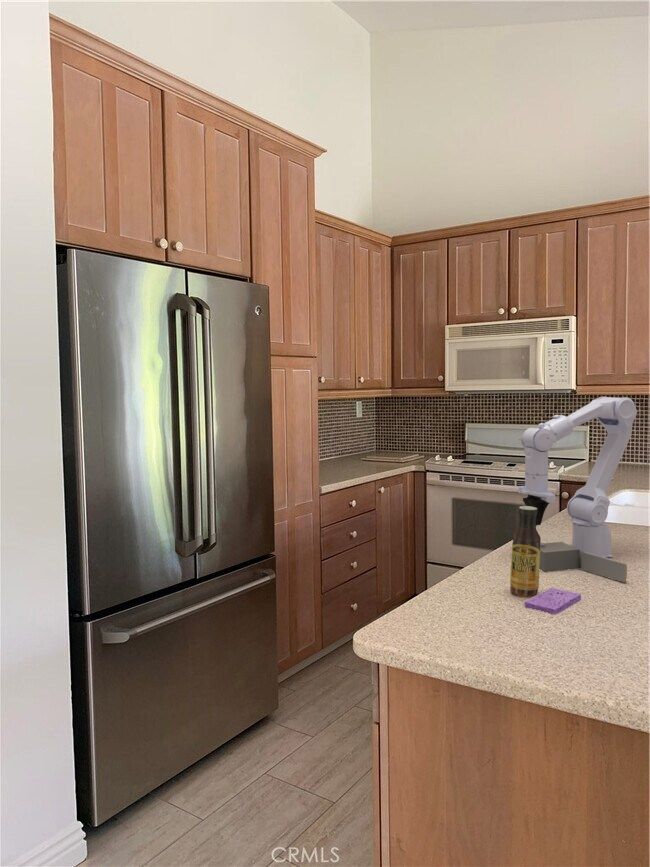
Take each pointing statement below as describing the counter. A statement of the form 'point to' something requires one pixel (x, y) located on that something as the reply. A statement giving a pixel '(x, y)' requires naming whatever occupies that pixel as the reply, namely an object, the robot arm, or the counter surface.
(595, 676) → the counter surface
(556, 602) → the sponges
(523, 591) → the sauce bottle
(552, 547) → the camera body
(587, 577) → the counter surface
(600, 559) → the side door
